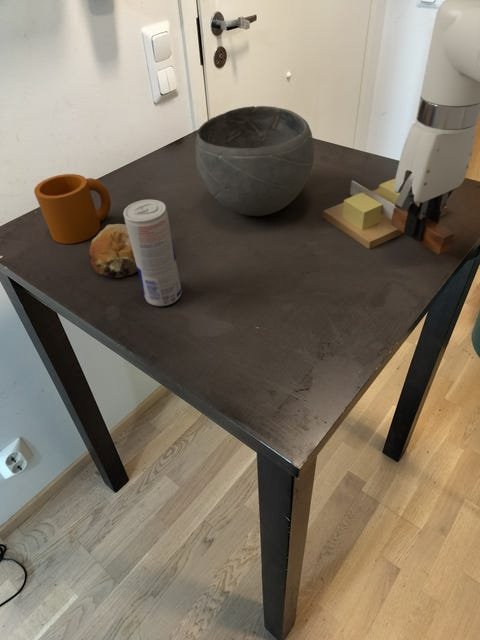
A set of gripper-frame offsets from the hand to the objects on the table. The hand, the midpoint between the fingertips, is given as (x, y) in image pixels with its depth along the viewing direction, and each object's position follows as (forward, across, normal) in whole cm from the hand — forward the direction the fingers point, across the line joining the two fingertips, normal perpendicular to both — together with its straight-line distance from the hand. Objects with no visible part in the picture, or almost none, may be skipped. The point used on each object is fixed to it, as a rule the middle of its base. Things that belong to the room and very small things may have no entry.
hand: (419, 232), depth 72 cm
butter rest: (+2, -6, -11) cm, 13 cm away
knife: (+1, 0, -6) cm, 6 cm away
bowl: (+4, +12, -28) cm, 31 cm away
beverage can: (+4, +38, -14) cm, 41 cm away
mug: (+3, +42, -40) cm, 58 cm away
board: (+4, -4, -11) cm, 12 cm away
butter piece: (+2, +2, -11) cm, 11 cm away
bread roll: (+4, +40, -26) cm, 48 cm away
